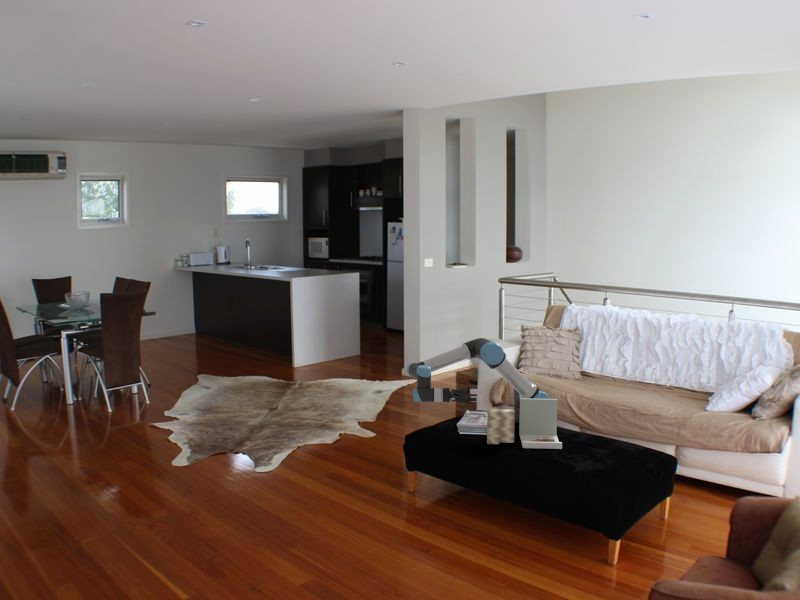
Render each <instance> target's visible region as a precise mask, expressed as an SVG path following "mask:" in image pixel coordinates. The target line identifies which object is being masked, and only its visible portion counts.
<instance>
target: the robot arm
mask: <svg viewBox="0 0 800 600" xmlns="http://www.w3.org/2000/svg"><path fill="white" fill-rule="evenodd" d="M473 359H479V360H481V361H482V362H483V363H484V364H485V365H487V367H489V369H491V370H495V371H497V373H498V374H500V376H501V377H502V378H503V379H504V380H505V381H506V382H507V383H508V384H509V385H510V386H511V387H512V388H513V408H512V410H514V411H515V417H514V424H519V425H520V398H531V399H550V396H549V394H547V392H545V391H543V390H542V389H541V388H540V387H539V386H538V385H537V384H535V382H534V381H530V380H529V379H527V378H526V377H525V376H524V374H522V373H521V372H520V371H519V370H518V369H517V368H516V366H515V365H513V363H512V362H510V360H508V359H507V354H506V353H505V352H504V349H503V347H502V346H501V345H500V344H499V343H497V342H495V341H491V340H489V339H487V338H485V337H478V338H475V339H471V340H468V341H467V342H464V343H462V344H461V346H459V347H456V348H453V349H450V350H448V351H446V352H443V353H440V354H438V355H435V356H432V357H430V358H428V359H424V360H422V361H419V362H410V363H408V365H407V367H406V373H407V375H408V376H410V377H411V378H413V379H414V380H416V387H414V388H413V389H412V390H413V391H412V393H413V394H412V397H413V401H414V402H415V403H417V402H419V403H436V404H438V403H442V402H443V403H450V401H451V402H459V403H465V404H471V402H472V403H473V402H474V403H484V396H482V395H483V389H482V388H471V387H470V386H469V387H463V388H456V389H455V388H454V389H451V390H450V387H443V388H442V387H432V373H433V372H436V371H438V370H440V369H444V368H446V367H448V366H451V365H455V364H457V363H459V362H462V361H464V360H473ZM468 395H471V396H468ZM474 395H479V396H474ZM480 395H481V396H480Z"/></svg>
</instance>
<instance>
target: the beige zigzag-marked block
mask: <svg viewBox="0 0 800 600" xmlns="http://www.w3.org/2000/svg"><path fill="white" fill-rule="evenodd" d="M514 417H515V411H514V410H513V408H511V409H506V408H505V409H504V408H502V409H501V408H499V409H498V408H487V420H486V421H487V423H486V424H487V425H486V426H487V427H486V429H487V430H486V443H487V444H488V445H500V443H509V444H510V443H515V422H514Z"/></svg>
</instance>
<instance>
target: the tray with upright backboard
mask: <svg viewBox="0 0 800 600" xmlns="http://www.w3.org/2000/svg"><path fill="white" fill-rule="evenodd" d="M558 401H559V400H558V398H549V399H531V398H520V424H519V426H518V427H519V428H518V429H519V431H518V432H519V437H520V441H521V446H522V448H523V449H546V450H547V449H549V450H551V449H553V450H554V449H555V450H562V449H563V442H562V441H559V438H558V434H557V430H558V429H557V428H558V405H559V404H558ZM537 437H554V439H555V442H536V440H537ZM532 440H535V441H532Z"/></svg>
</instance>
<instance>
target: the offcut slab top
mask: <svg viewBox="0 0 800 600" xmlns="http://www.w3.org/2000/svg"><path fill="white" fill-rule="evenodd" d="M536 441H537V442H555V439H554V437H537V440H536Z"/></svg>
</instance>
